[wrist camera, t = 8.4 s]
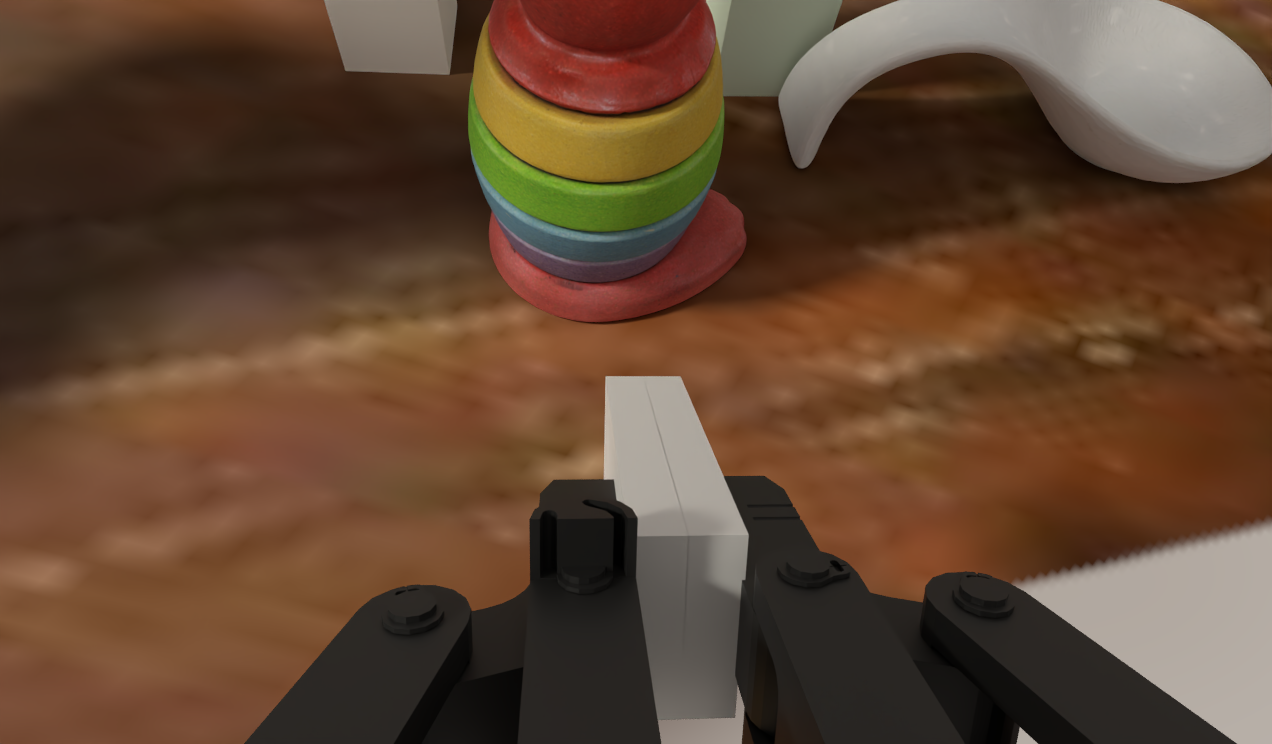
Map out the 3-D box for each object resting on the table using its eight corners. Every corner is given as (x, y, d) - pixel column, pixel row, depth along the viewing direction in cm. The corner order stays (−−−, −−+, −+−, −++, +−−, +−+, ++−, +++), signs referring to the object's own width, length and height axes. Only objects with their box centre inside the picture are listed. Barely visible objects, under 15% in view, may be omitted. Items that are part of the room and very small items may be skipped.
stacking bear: (763, 242, 37) (906, -177, 21) (604, 382, 33) (636, -5, 17) (593, 111, 40) (608, -340, 24) (429, 225, 36) (322, -225, 20)
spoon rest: (1174, 48, 46) (1271, -75, 39) (1275, 216, 40) (1406, 105, 34) (759, 59, 43) (793, -71, 37) (808, 241, 37) (857, 126, 31)
